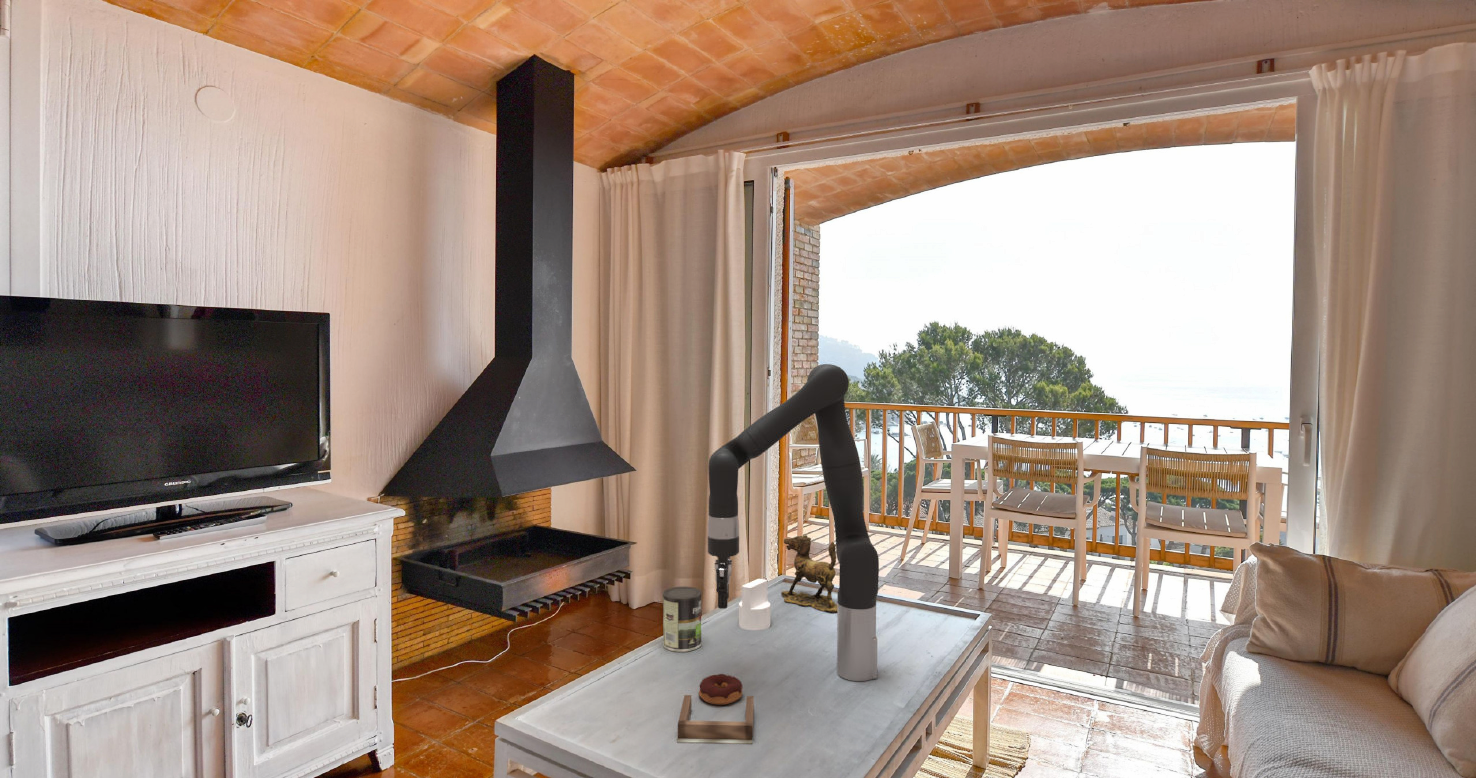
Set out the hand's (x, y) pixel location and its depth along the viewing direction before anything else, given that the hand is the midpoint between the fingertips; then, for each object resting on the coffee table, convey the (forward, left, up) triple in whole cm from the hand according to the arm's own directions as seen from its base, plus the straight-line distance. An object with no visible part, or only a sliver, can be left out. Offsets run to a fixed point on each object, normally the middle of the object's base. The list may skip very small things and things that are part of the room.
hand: (723, 602), depth 174 cm
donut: (0, +11, -18) cm, 21 cm away
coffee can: (+12, -18, -18) cm, 28 cm away
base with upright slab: (-7, -33, -18) cm, 38 cm away
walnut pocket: (0, +23, -18) cm, 29 cm away
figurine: (-25, -52, -18) cm, 60 cm away
